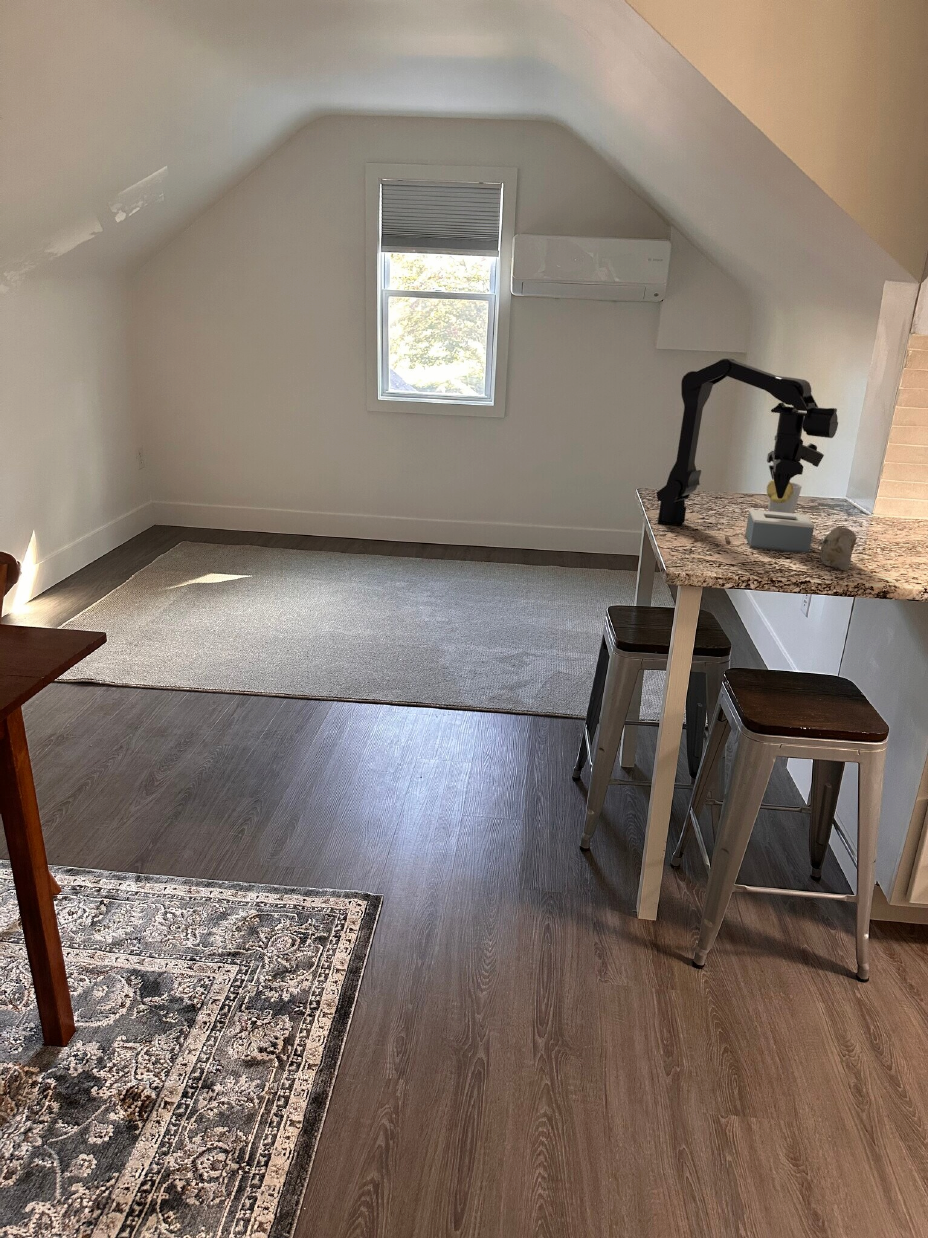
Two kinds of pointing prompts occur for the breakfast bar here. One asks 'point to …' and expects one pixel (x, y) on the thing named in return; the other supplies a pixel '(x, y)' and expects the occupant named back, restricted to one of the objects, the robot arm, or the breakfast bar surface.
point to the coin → (773, 495)
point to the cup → (788, 505)
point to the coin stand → (725, 538)
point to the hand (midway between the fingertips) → (779, 497)
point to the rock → (838, 548)
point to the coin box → (779, 531)
